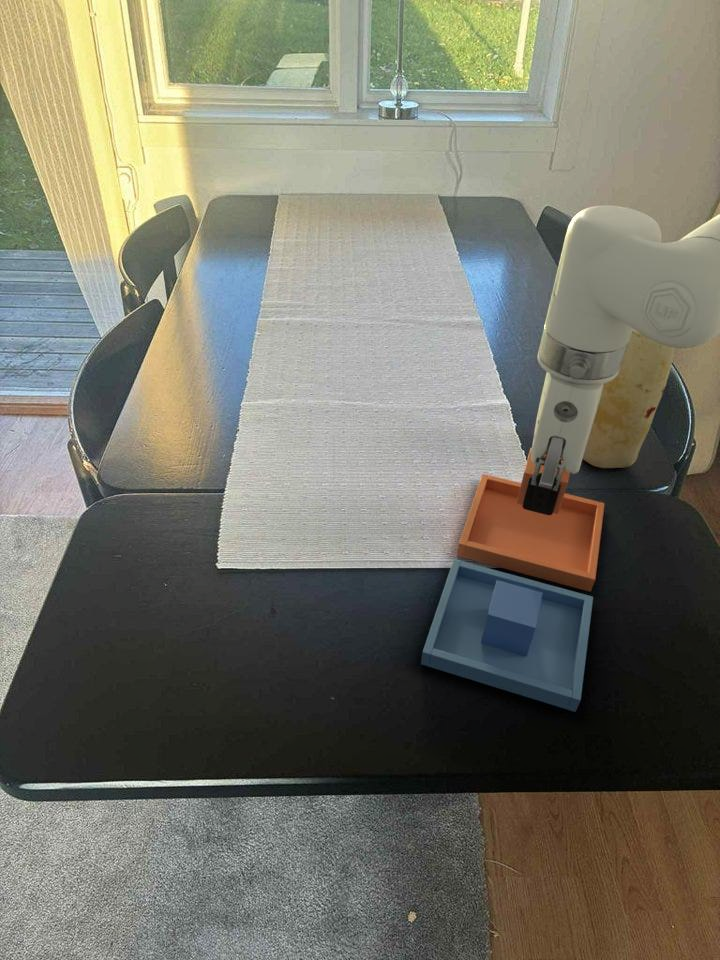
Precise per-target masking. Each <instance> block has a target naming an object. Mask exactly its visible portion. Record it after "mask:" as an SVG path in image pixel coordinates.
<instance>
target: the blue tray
mask: <svg viewBox="0 0 720 960" xmlns="http://www.w3.org/2000/svg"><path fill="white" fill-rule="evenodd" d="M497 580H498V581H502V582H506V583H509V584H513V585H516V586H520V587H524V588H527V589H531V590H535V591H538V592H542V593H543V594H542V599H541V604H540V609H539V615H538V620H537V625H536V629H535V632H534V635H533V639H532V642H531V645H530V648H529V651H528V654H527V656H523V655H520V654H516V653H513V652H509V651H506V650H503V649H499V648H496V647H493V646H489V645H486V644H483V643H481V640H482V636H483V632H484V628H485V623H486V619H487V615H488V611H489V607H490V604H491V600H492V596H493V592H494V589H495V585H496V581H497ZM593 602H594V596H591V595H587V594H584V593H580V592H576V591H573V590H569V589H565V588H562V587H559V586H555V585H551V584H547V583H544V582H540V581H536V580H533V579H529V578H525V577H523V576H518V575H515V574H511V573H507V572H504V571H499V570H496V569H492V568H488V567H486V566H481V565H477V564H475V563H470V562H466V561H464V560H460V559H455V558H454V559H453V560H452V563H451V566H450V568H449V572H448V575H447V578H446V581H445V584H444V587H443V590H442V593H441V596H440V599H439V603H438V605H437V608H436V611H435V613H434V617H433V620H432V623H431V625H430V628H429V632H428V634H427V637H426V640H425V644H424V647H423V650H422V653H421V660H420V665H423V666H426V667H428V668H432V669H435V670H439V671H443V672H445V673H448V674H451V675H455V676H458V677H461V678H464V679H467V680H470V681H473V682H476V683H481V684H483V685H487V686H489V687H493V688H496V689H499V690H503V691H505V692H506V691H507V692H509V693H512V694H516V695H519V696H521V697H525V698H528V699H530V700H531V699H532V700H534V701H538V702H542V703H544V704H548V705H551V706H554V707H558V708H561V709H564V710H567V711H571V712H574V713H576V711H577V710H578V708H579V705H580V703H581V699H582V692H583V683H584V675H585V666H586V660H587V651H588V643H589V636H590V635H589V634H590V626H591V618H592V611H593V610H592V609H593Z"/></svg>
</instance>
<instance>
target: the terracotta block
mask: <svg viewBox="0 0 720 960" xmlns="http://www.w3.org/2000/svg"><path fill="white" fill-rule="evenodd" d="M531 452H532V447H529V452H528V456H527V459H526V464H525V467H524V472H523V476H522V479H521V482H520V483H521V487H520V491H519V495H518V499H517V503H516V504H519V505H523V502H524V498H525V494H526V490H527V487H528V483H529V479H530V478H532V477H533V473H534V470H535V466H536V463H535V465H534V464H533V462H532V461H531ZM543 456H547V454H545V453H544V454H543ZM562 458H563V457H560V460H562ZM543 468H544V466H543V465H541V467H540V471H539V473H542V472H543ZM557 470H558V469H557ZM557 470H556V474H557ZM556 474H555V476H556ZM570 474H571V473H569V472H566V470H565V468H564V470H563V473H562V477H561V480H560V484H559V485H561V487H560V491H559V494H558V498H557V501H556V504H555V507H554V511H553V513H555V514H558V513H559V510H560V507H561V503H562V500H563V497H564V494H566V490H567V488H568V483H569V480H570Z"/></svg>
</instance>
